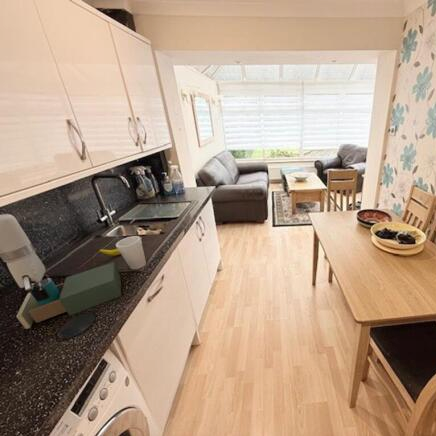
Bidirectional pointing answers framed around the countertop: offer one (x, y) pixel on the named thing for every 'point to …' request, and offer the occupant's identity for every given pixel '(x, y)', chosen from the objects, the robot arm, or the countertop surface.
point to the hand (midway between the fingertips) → (45, 293)
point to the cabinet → (90, 288)
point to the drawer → (39, 310)
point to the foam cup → (132, 251)
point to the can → (48, 291)
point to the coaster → (76, 326)
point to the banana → (111, 251)
